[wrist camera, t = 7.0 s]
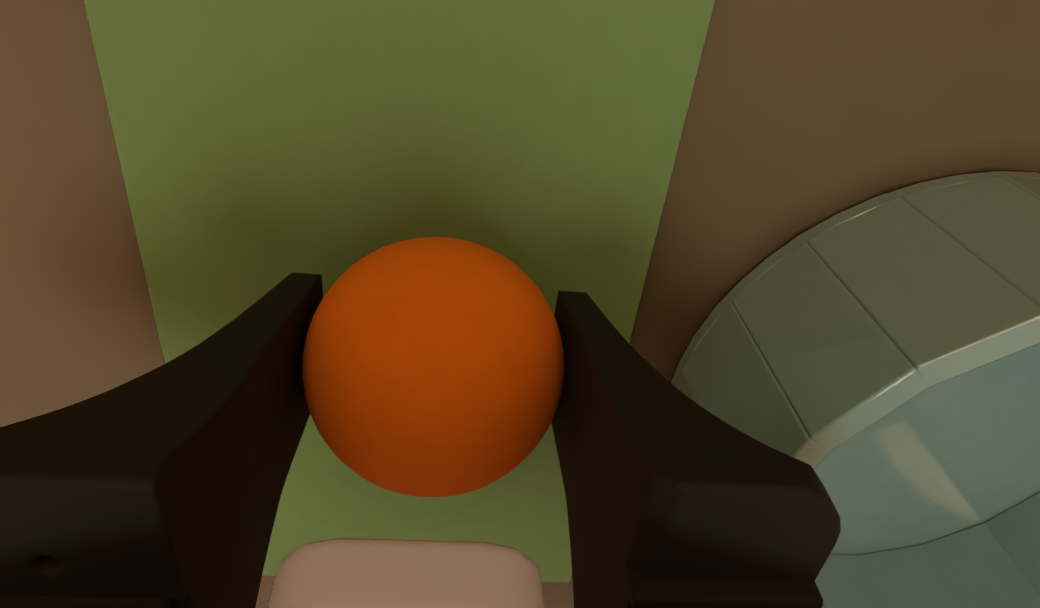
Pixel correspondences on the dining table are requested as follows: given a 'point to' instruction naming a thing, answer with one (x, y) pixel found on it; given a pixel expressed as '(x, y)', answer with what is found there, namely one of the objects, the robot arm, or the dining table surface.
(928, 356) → the pot
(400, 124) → the green flat l-shaped piece
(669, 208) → the dining table surface
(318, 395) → the orange
